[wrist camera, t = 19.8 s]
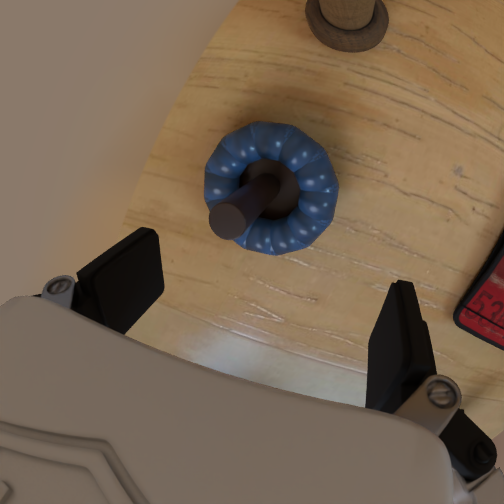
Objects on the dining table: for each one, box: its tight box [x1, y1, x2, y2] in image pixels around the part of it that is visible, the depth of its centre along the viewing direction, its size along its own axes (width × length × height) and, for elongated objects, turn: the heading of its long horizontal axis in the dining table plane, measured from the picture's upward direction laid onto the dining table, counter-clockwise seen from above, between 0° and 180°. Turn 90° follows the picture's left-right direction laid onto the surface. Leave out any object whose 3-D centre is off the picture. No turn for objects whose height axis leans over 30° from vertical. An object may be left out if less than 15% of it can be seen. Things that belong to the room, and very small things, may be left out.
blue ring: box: [204, 121, 339, 256], centre depth 23 cm, size 11×11×3 cm
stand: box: [209, 158, 300, 240], centre depth 21 cm, size 8×8×10 cm
